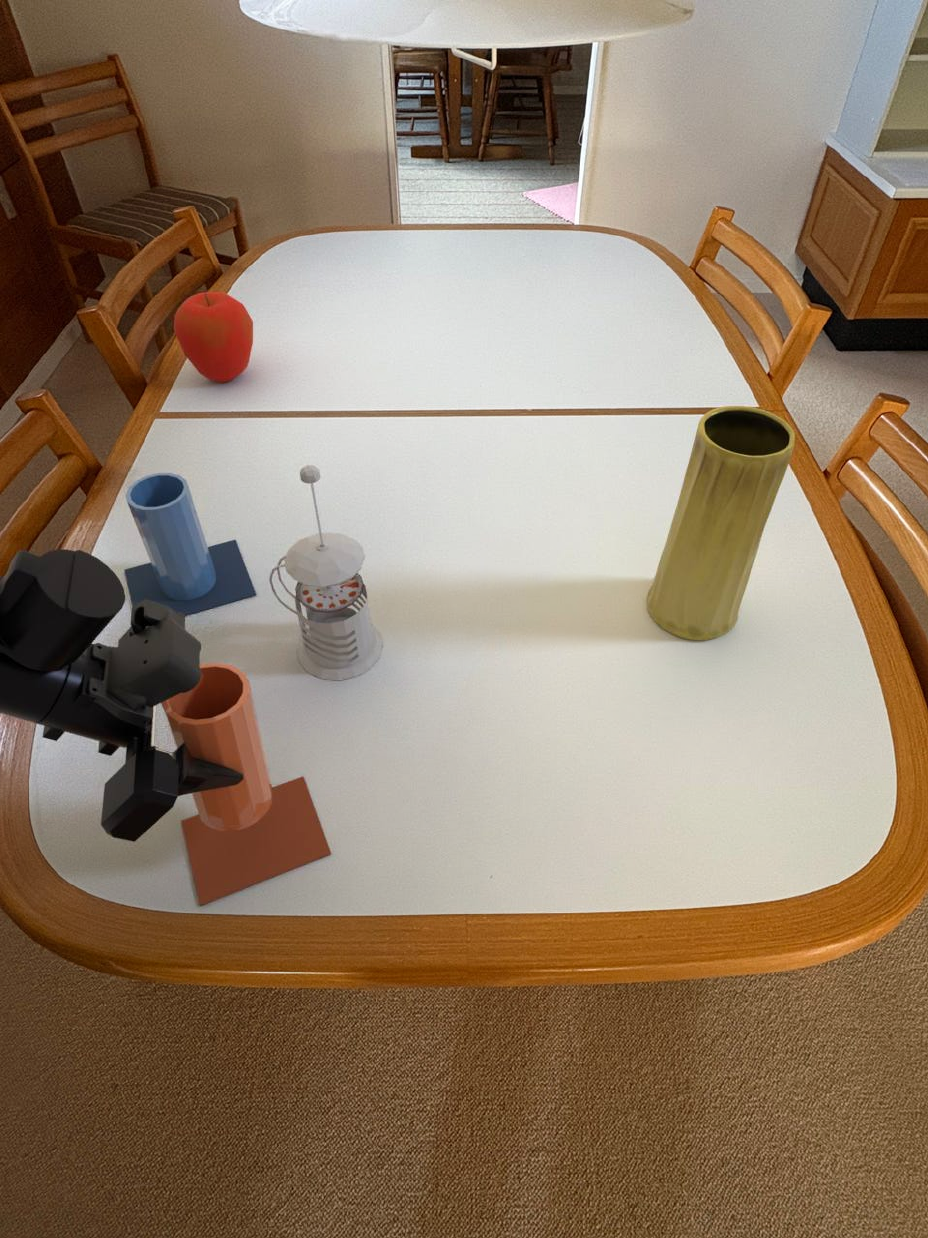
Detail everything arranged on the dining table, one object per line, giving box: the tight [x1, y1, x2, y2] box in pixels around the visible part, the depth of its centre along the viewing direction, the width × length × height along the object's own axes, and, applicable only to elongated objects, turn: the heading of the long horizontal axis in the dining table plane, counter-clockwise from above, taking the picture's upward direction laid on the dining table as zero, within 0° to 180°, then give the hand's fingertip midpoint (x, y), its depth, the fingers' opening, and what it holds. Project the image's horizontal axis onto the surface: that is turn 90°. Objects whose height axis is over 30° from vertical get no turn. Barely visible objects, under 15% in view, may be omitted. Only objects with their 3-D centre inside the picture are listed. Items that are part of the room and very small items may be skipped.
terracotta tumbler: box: [160, 662, 273, 832], centre depth 66 cm, size 7×7×14 cm
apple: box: [173, 291, 254, 384], centre depth 125 cm, size 12×12×14 cm
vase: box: [646, 405, 796, 641], centre depth 85 cm, size 11×11×25 cm
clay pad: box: [180, 775, 332, 907], centre depth 74 cm, size 12×9×1 cm
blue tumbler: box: [125, 472, 216, 601], centre depth 92 cm, size 7×7×14 cm
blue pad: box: [124, 539, 257, 617], centre depth 97 cm, size 14×11×1 cm
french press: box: [268, 464, 384, 682], centre depth 81 cm, size 10×12×25 cm
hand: (239, 744), depth 66 cm, fingers closed on terracotta tumbler, 7 cm apart
